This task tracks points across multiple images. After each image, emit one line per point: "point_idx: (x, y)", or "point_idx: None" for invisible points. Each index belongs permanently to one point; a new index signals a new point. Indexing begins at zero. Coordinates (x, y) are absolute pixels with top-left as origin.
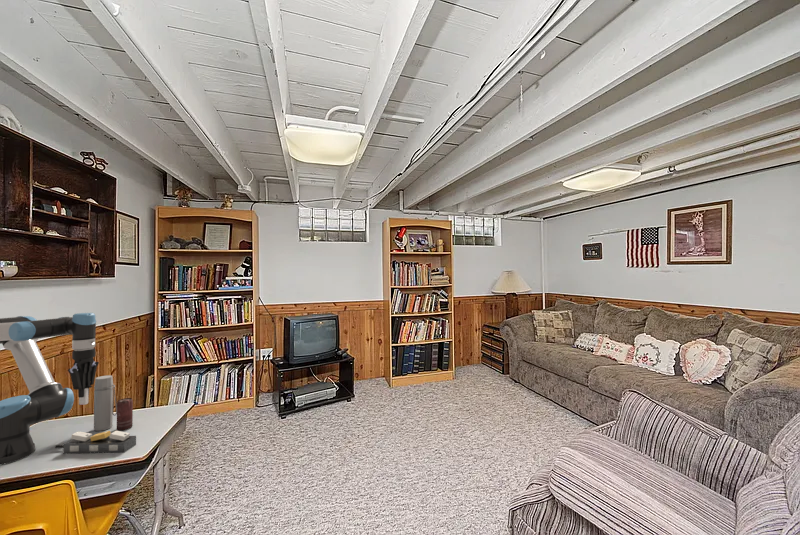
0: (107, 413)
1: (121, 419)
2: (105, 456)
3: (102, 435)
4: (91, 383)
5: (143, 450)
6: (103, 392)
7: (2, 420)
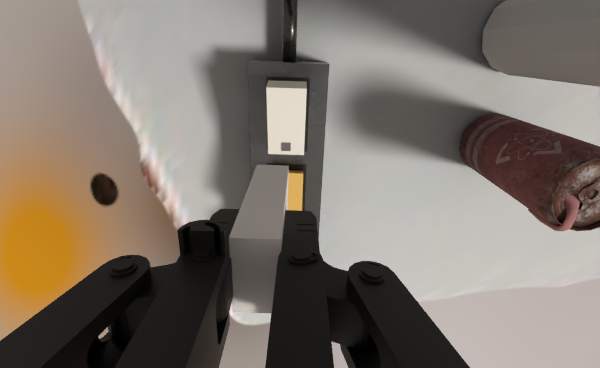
0: (546, 75)
1: (484, 163)
2: None
3: None
4: (343, 349)
5: None
6: None
7: None
